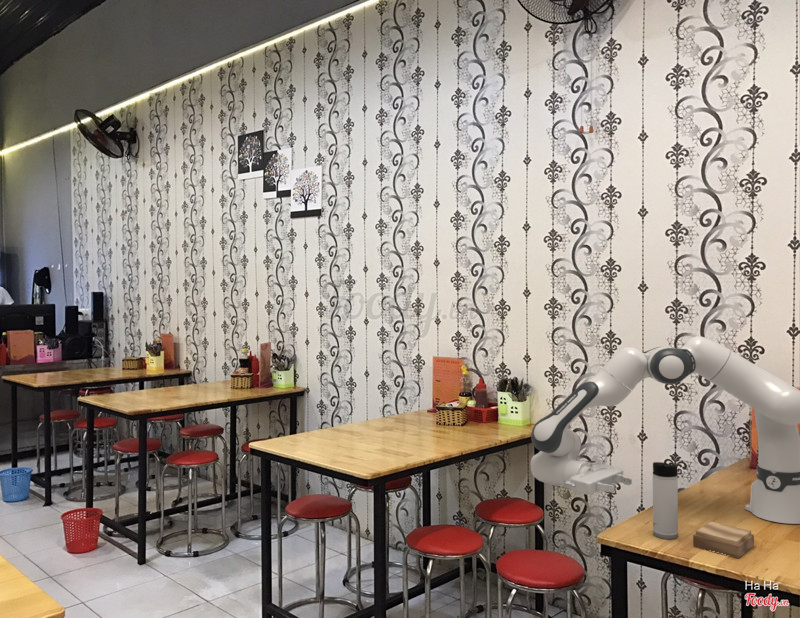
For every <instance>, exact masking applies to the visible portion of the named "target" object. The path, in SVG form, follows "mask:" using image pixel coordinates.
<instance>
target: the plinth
mask: <svg viewBox="0 0 800 618" xmlns="http://www.w3.org/2000/svg"><path fill="white" fill-rule="evenodd" d="M692 540H693V541H692V544H693V545H692V546H695V547H694V548H697V547H698V548H697V549H701V548H702V549H701V550H704V549H706V551H708V550H711V551H710V552H712V551H715V552H714V553H716V552H719V553H723V554H726V555H725V556H727V555H730V556H729V557H731V556H733V557H732V558H734V557H736V558H735V559H737V560H738V559H740V558H742V557H743V556H745V554H746V553H747V552H749V551H750V550H751V549H752V548H754V547H755V534H752V531H751V530H748V529H744V528H740V527H736V526H732V525H727V524H723V523H720V522H719V523H718V522H715V521H710V522H708V523H707V524H705V525H704V526H702V527H700V528H698V529H697V530H695V533H694V534H693V535H692ZM719 553H718V554H719ZM723 554H722V555H723Z"/></svg>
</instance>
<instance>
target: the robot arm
mask: <svg viewBox="0 0 800 618" xmlns="http://www.w3.org/2000/svg"><path fill="white" fill-rule="evenodd" d="M693 373H695V374H697V375H699V376H701V377H702V378H704V379H706V380H707V381H709V382H710V383H712V384H713V385H715V386H717V387H718V388H720V389H721V390H723V391H725V392H726V393H727V394H729V395H731V396H733V397H734V398H736V399H737V400H739V401H741V402H743V403H744V404H746V405H748V407H750V408H753V410H754V411H753V412H754V419H755V428H756V434H757V442H758V444H757V451H758V452H757V454H758V455H757V458H758V459H757V460H758V461H757V462H758V464H757V465H756V470H755V473H756V478H757V479H756V480H753V481H752V483H751V486H750V500H749V503H748V504H745V505H744V510H747V511H748V512H751V513H752V514H753V515H754V516H755V517H757V518H760V519H761V520H762V519H763V520H766V521H770V522H775V523H781V524H787V525H788V524H789V525H797V524H798V525H799V524H800V433H799V429H798V425H799V424H800V389H798V388H797V387H794V386H792V385H791V384H790V383H788V382H787V381H785V380H783V379H781V378H779V377H778V376H775V375H774V374H773V373H771V372H769V371H767V370H766V369H763V368H762V367H760V366H758V365H756V364H755V363H753V362H751V361H750V360H748V359H746V358H744V357H743V356H741V355H740V354H738V353H736V352H735V351H733V350H731V349H730V348H728V347H726V346H724V345H723V344H720V343H719V342H716V341H714V340H713V339H712V340H711V339H710V338H707V337H704V336H701V335H700V336H699V335H698V336H697V335H696V336H693V337H691V338H690V339H688V340H687V341H686V342H685V343H684V344H683V346H682V347H680V348H676V347H670V346H658V347H653V348H650V349H648V350H646V351H643V352H642V351H641V350H640V349H638V348H636V347H632V346H624V347H623V348H621V349H619V351H617V352H616V353H615V354H614V355H613V356H612V357H611V358H609V360H608V361H607V362H606V363H605V364H604V365H603V366H602V367H601V368H600V370H599V371H598V372H597V373H596V374H595V375H594V376H592V378H590V379H589V380H588V381H585V382H584V383H582V384H579V386H578V387H577V388H576V389H575V390H573V392H571V393H570V394H569V395H568V396H567V397H566V398H565V399H564V400H563V401H562V402H561V403H560V404H558V405H557V406H556V407H555V409H554V410H553V411H551V412H550V413H549V414H548V415H545V416H544V417H543V418H541V419H539V420H538V421H537V422H535V424H534V426H533V427H532V429H531V435H530V436H531V443H532V445H533V446H534V448H535V449H537V450H538V451H539V452H538V453H536V454H534V455H533V456H532V457H531V460H530V470H531V471H530V472H531V474H532V476H533V477H534V478H535V479H536V480H538V481H539V482H542V483H544V484H548V485H551V486H555V487H556V486H557V487H564V488H566V489H569V490H571V491H573V492H575V493H579V494H583V495H586V496H587V495H588V496H591V495H594V494H596V493H598V492H609V493H614V492H616V490H617V487H616V485H617V484H620V483H622V484H624V485H626V486H630V485H632V484H633V479H632V478H630V477H629V476H628V477H627V476H625V475H624V470H623V469H622V468H620V467H618V466H613V465H609V464H604V463H600V462H599V461H598V460H585V461H584V460H578V458H579V455H580V454H581V450H582V440H581V438H580V436H579V435H578V433H576V432H574V431H573V430H571V429H570V428H568V427H569V426H570V425H571V424H573V422H574V421H575V420H576V419H578V417H579V416H581V414H582V413H583V412H584V411H586V410H588V409H589V408H593V407H614V406H617V405H619V404H621V403H622V402H623V401H625V399H626V398H627V397H628V396H629V395H630V394H631V393H632V391H633V390H634V389H635V388H636V386H637V385H638V384H639V383H640V382H641V381H643V380H644V379H648V378H651V379H653V380H654V381H656V382H658V383H661V384H664V385H675V384H678V383H681V382H682V381H683V380H685V379H686V378H687V377H688V376H690V375H691V374H693Z"/></svg>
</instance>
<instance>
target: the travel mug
mask: <svg viewBox="0 0 800 618" xmlns="http://www.w3.org/2000/svg"><path fill="white" fill-rule="evenodd" d="M678 475H679V474H678V465H677V464H675V463H674V464H669V463H667V462H659V461H654V462H652V533H653V536H655V537H656V538H659V539H662V540H675V539H677V538H679V532H678V531H679V514H678V513H679V506H678V505H679V498H678V497H679V495H678V494H679V486H678V483H679V480H678Z"/></svg>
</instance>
